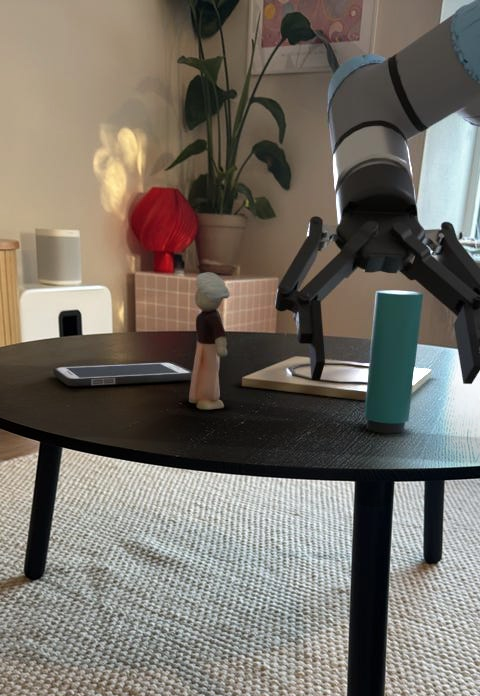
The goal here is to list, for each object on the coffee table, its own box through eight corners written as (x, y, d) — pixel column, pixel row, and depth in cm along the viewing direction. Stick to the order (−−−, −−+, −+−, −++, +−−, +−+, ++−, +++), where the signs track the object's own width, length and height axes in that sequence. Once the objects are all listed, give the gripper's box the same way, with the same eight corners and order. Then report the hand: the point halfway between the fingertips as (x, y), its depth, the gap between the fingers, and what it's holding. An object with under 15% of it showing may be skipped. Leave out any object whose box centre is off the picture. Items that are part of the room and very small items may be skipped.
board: (430, 377, 94) (431, 368, 94) (399, 404, 78) (401, 393, 78) (294, 363, 100) (295, 354, 100) (241, 386, 85) (241, 375, 85)
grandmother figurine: (173, 399, 77) (173, 269, 73) (206, 396, 79) (208, 269, 74) (208, 415, 71) (211, 275, 67) (243, 412, 73) (248, 275, 68)
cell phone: (196, 381, 86) (196, 372, 86) (68, 388, 80) (67, 379, 79) (171, 369, 92) (171, 361, 92) (51, 375, 86) (51, 366, 86)
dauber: (411, 427, 70) (427, 292, 65) (402, 436, 66) (418, 295, 62) (369, 421, 71) (381, 289, 67) (358, 430, 68) (370, 292, 63)
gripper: (484, 225, 78) (518, 400, 69) (244, 215, 76) (248, 394, 68) (513, 164, 71) (555, 350, 62) (250, 152, 69) (256, 342, 61)
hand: (396, 373), depth 65 cm, fingers open, 13 cm apart
